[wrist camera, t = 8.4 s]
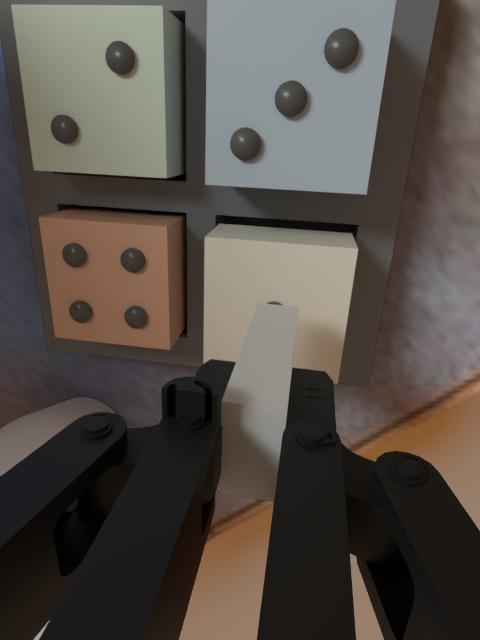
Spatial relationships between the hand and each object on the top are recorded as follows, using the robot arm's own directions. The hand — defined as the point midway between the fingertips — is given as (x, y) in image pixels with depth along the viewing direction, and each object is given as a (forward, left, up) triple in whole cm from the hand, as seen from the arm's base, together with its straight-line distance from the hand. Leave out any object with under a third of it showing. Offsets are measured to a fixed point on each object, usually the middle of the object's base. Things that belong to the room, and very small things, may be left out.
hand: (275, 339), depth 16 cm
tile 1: (0, 0, -5) cm, 5 cm away
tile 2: (-8, +8, -7) cm, 13 cm away
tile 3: (0, +8, -5) cm, 10 cm away
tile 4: (-8, 0, -7) cm, 11 cm away
